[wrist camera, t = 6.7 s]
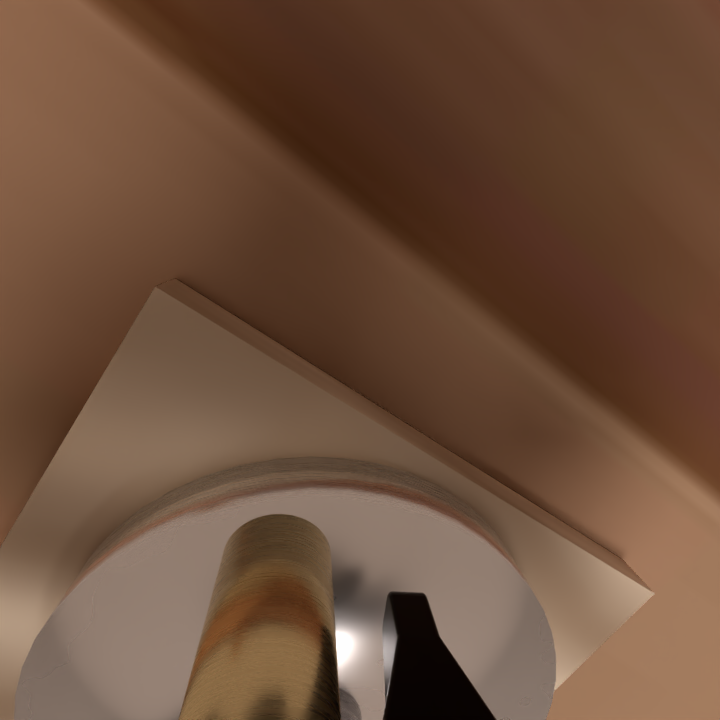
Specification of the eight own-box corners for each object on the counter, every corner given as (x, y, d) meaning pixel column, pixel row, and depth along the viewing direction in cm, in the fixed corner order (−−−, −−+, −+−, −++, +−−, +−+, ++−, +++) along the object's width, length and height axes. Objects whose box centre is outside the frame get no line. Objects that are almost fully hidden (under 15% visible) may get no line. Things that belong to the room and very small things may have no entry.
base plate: (384, 802, 18) (390, 850, 17) (-56, 662, 14) (-99, 713, 12) (623, 560, 16) (654, 593, 14) (175, 278, 11) (154, 286, 9)
